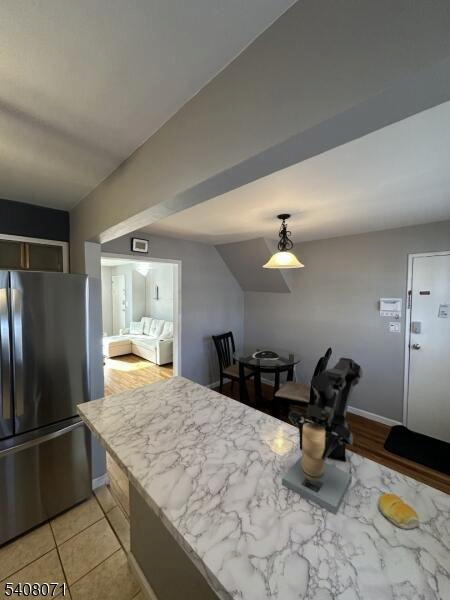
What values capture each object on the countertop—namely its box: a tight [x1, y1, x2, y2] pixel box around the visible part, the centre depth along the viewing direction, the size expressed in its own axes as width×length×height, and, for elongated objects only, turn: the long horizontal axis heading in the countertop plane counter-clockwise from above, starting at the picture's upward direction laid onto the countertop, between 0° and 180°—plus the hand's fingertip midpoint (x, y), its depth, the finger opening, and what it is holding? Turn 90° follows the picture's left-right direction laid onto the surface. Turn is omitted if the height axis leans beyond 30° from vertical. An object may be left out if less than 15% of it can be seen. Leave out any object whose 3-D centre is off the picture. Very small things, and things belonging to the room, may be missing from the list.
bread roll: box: [377, 493, 420, 530], centre depth 67 cm, size 8×9×4 cm
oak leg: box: [301, 423, 326, 481], centre depth 75 cm, size 6×6×15 cm
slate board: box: [281, 455, 353, 515], centre depth 78 cm, size 16×16×2 cm
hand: (311, 454), depth 74 cm, fingers closed on oak leg, 6 cm apart
